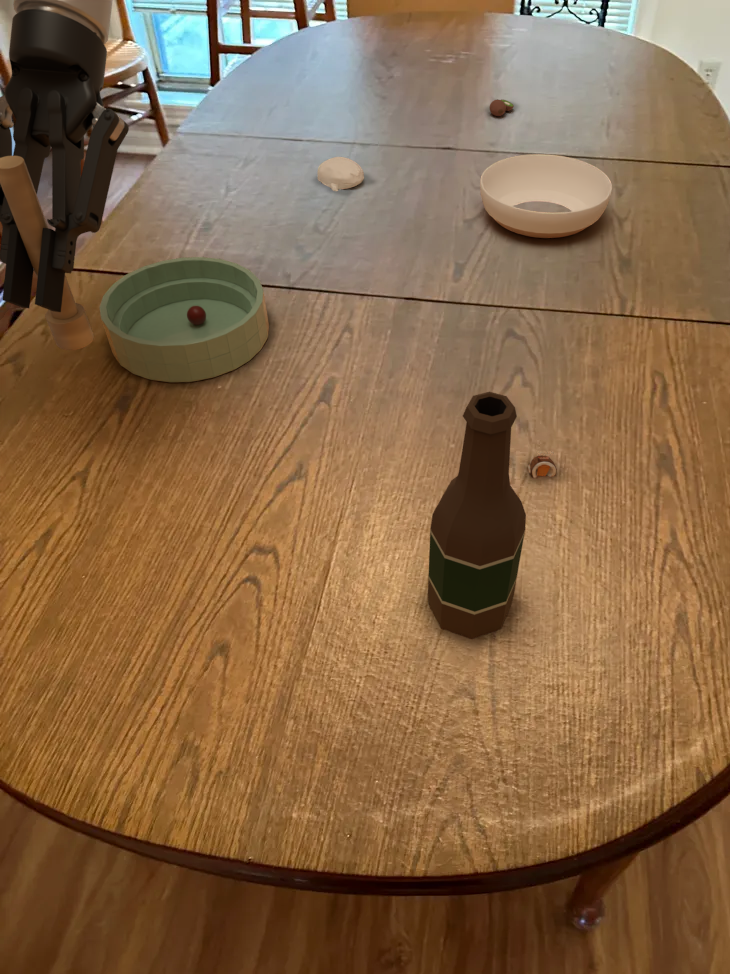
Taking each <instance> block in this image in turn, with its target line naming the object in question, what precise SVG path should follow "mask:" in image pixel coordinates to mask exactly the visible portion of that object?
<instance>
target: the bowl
mask: <svg viewBox="0 0 730 974" xmlns="http://www.w3.org/2000/svg"><path fill="white" fill-rule="evenodd" d="M479 189H480V190H479V191H480V197H481V200H482V204H483V207H484V210H485V211H486V212H487V215H489V216H490V217H491V218H492V219H493V220H494V221H495V222H496V223H497V224H498V225H500V226H501V227H503V228H504V229H506V230H508V231H510V232H512V233H515V234H517V235H522V236H526V237H531V238H537V239H538V238H541V239H550V238H551V239H554V238H555V239H556V238H563V237H568V236H572V235H576V234H579V233H580V232H582V231H583V230H585V229H587V228H588V227H590V226H591V225H593V224H595V223H596V222H597V221H598V220H599V219H600V218H601V217H602V215H603V214H604V212H605V210H606V209H607V207H608V205H609V202H610V198H611V195H612V193H613V183H612V182H611V180H610V177H609V176H608V175H607V174H606V173H605V172H604V171H603V170H601V169H599V168H598V167H597V166H594V165H593V164H590V163H589V162H586V161H584V160H581V159H577V158H573V157H568V156H564V155H556V154H547V153H545V154H544V153H543V154H542V153H535V154H533V153H531V154H522V155H516V156H515V155H514V156H511V157H510V156H509V157H507V158H503V159H500V160H498V161H495V162H494V163H492V164H490V165H489V166H488V167H487V168H485V169H484V170H483V172H482V173H481V176H480V179H479ZM530 202H545V203H552V204H556V205H559V206H562V207H564V208H566V209H569V210H570V211H562V212H561V211H560V212H548V211H547V212H546V211H545V212H544V211H535V210H529V209H524V208H521V207H520V208H519V207H516V206H517V205H519V204H523V203H524V204H525V203H530Z"/></svg>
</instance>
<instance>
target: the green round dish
mask: <svg viewBox="0 0 730 974" xmlns="http://www.w3.org/2000/svg"><path fill="white" fill-rule="evenodd" d="M192 306H200V307H202V308H203V309H204V311H205V312H206V320H205V321H204V323H202V324H201V325H194V324H192V323H190V322H189V320H188V318H187V311H188V309H189V308H190V307H192ZM99 315H100V320H101V323H102V327H103V329H104V331H105V335H106V338H107V341H108V343H109V347H110V351H111V352H112V355H113V357H114V358H115V360H116V361H117V362H118V364H119V365H120V366H121V367H123V368H124V369H125V370H127V371H129V372H130V373H131V374H133V375H135V376H138V377H141V378H144V379H148V380H150V381H157V382H164V383H190V382H191V383H192V382H196V381H197V382H198V381H202V380H207V379H212V378H216V377H219V376H221V375H225V374H227V373H229V372H230V373H231V372H232V371H235V370H236V369H239V368H240V367H242V366H243V365H245V364H246V363H248V362H250V361H251V360H252V359H253V358H254V357H255V356H256V355H258V354H259V352H260V351H261V350H262V349H263V347H264V345H265V343H266V342H267V340H268V338H269V329H270V328H269V327H270V324H269V317H268V311H267V303H266V298H265V290H264V287H263V286H262V282H261V281H260V279H259V278H258V277H257V276H256V274H254V273H253V272H252V271H251V270H250V269H248V268H246V267H245V266H242V265H241V264H239V263H236V262H233V261H231V260H230V261H229V260H226V259H223V258H215V257H205V256H191V257H190V256H188V257H187V256H186V257H178V258H177V257H176V258H171V259H164V260H160V261H157V262H154V263H153V262H152V263H149V264H147V265H144V266H141V267H138V268H137V269H135V270H133V271H131V272H128V273H127V274H125V275H124V276H122V277H121V278H119V279H117V280H116V281H114V283H112V285H111V286H110V287H109V288H108V289H107V291H106V292H105V293H104V294H103V296H102V298H101V301H100V304H99Z"/></svg>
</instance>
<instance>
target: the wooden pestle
mask: <svg viewBox="0 0 730 974" xmlns="http://www.w3.org/2000/svg"><path fill="white" fill-rule="evenodd" d="M0 184H1V187H2V189H3V192H4V194H5V197H6V199H7V202H8V205H9V207H10V210H11V212H12V215H13V217H14V220H15V223H16V225H17V228H18V230H19V233H20V235H21V238H22V240H23V243H24V246H25V248H26V251H27V253H28V256H29V258H30V261H31V264H32V266H33V269H34V270H33V272H34V274H35V276H36V280H37V279H38V269H39V260H40V251H41V241H42V232H43V228H49V224H48V221H47V220H46V217H45V214H44V211H43V209H42V206H41V203H40V200H39V197H38V193H37V194H36V192H35V189H34V186H33V183H32V181H31V178H30V175H29V172H28V169H27V167H26V164H25V161H24V159H23V158H22V157H20V156H13V155H12V156H5V157H2V158H0ZM44 317H45V320H46V323H47V325H48V328H49V331H50V332H51V335H52V338H53V340H54V343H55V345H56V347H58V348H59V349H60V350H64V351H77V350H81V349H83V348H85V347H87V346H89V345H91V344H92V342H93V341H94V338H95V334H94V332H93V329H92V326H91V323H90V320H89V317H88V315H87V312H86V308H85V307H84V305H82V304H80V303H78V302H76V301H75V297H74V294H73V292H72V289H71V286H70V284H69V281H68V278H67V275H66V274H65V279H64V288H63V297H62V306H61V312H54V311H51V310H48V309H47V311H46V312H45V314H44Z"/></svg>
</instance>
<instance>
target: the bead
mask: <svg viewBox="0 0 730 974" xmlns="http://www.w3.org/2000/svg"><path fill="white" fill-rule="evenodd" d="M187 318H188V320H189V322H190V323H192V324H194V325H201V324H202V323H204V321H205V320H206V312H205V311H204V309H203V308H202V307H200V306H192V307H190V308H189V309H188V311H187Z"/></svg>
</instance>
